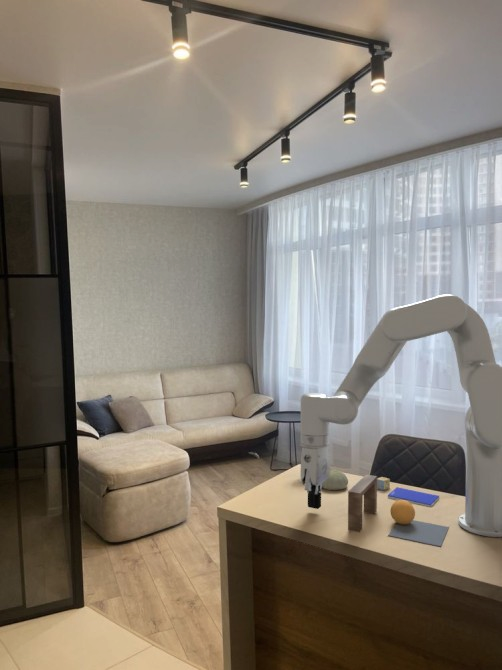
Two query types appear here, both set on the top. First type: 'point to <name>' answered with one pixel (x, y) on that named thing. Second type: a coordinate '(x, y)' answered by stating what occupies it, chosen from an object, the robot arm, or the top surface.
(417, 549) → the top surface
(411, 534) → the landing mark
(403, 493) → the hard drive
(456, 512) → the top surface
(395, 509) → the ball
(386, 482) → the alphabet block
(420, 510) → the top surface
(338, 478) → the sea urchin shell
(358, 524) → the bridge
